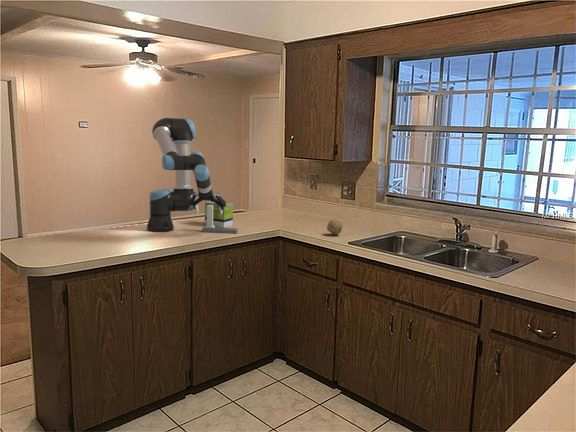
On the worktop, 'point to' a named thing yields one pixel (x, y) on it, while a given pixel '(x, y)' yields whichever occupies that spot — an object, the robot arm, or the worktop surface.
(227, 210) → the tea box
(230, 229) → the fader console
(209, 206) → the fader tab
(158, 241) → the worktop surface
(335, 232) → the natural sponge
